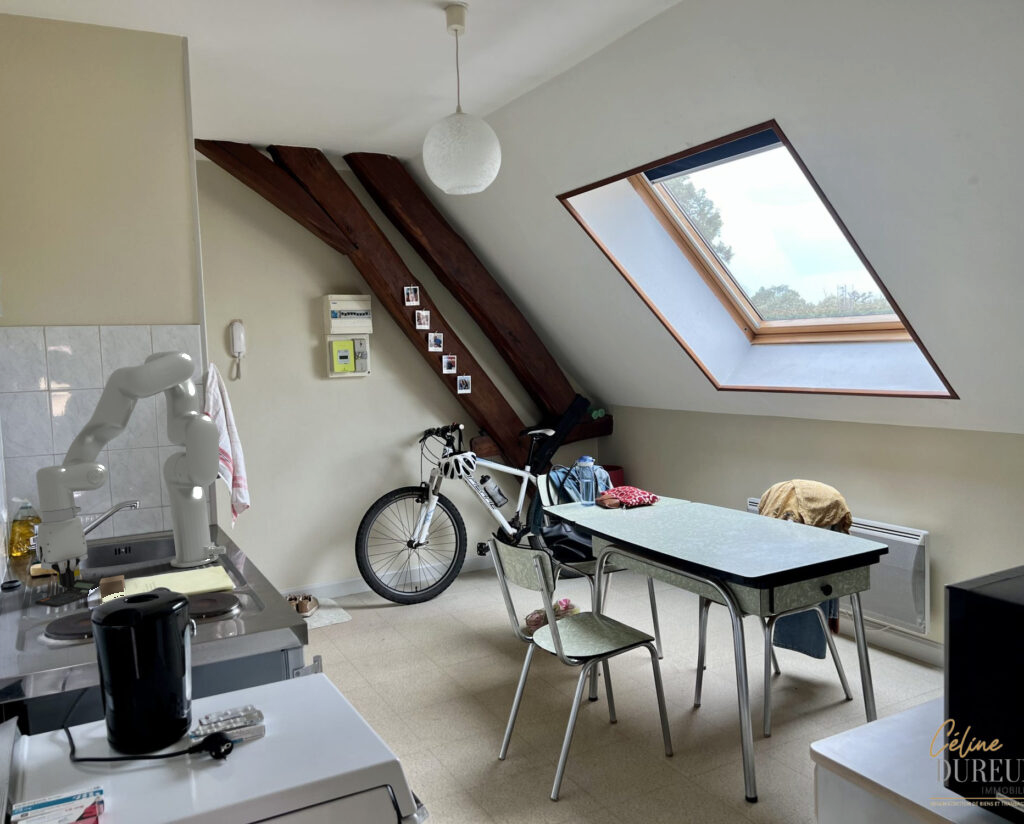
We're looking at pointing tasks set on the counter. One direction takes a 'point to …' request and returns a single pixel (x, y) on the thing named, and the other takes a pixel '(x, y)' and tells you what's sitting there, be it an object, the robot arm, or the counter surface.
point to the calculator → (70, 594)
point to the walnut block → (112, 585)
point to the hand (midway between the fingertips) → (68, 586)
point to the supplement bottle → (76, 573)
